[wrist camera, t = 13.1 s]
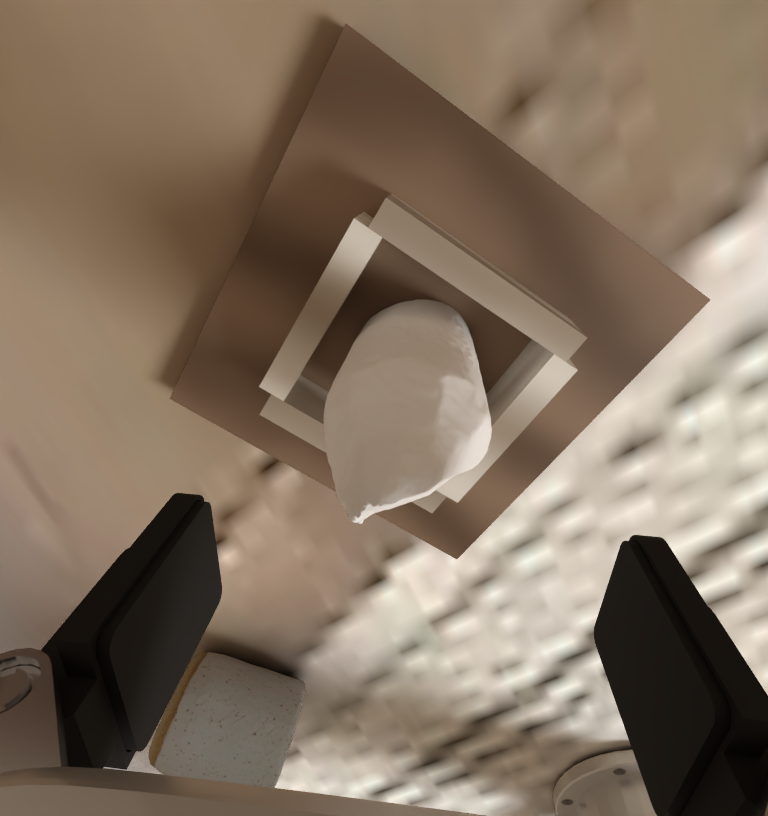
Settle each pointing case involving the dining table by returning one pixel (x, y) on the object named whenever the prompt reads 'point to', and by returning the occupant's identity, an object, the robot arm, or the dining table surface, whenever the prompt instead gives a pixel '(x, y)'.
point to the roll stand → (426, 287)
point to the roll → (405, 409)
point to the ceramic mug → (228, 722)
